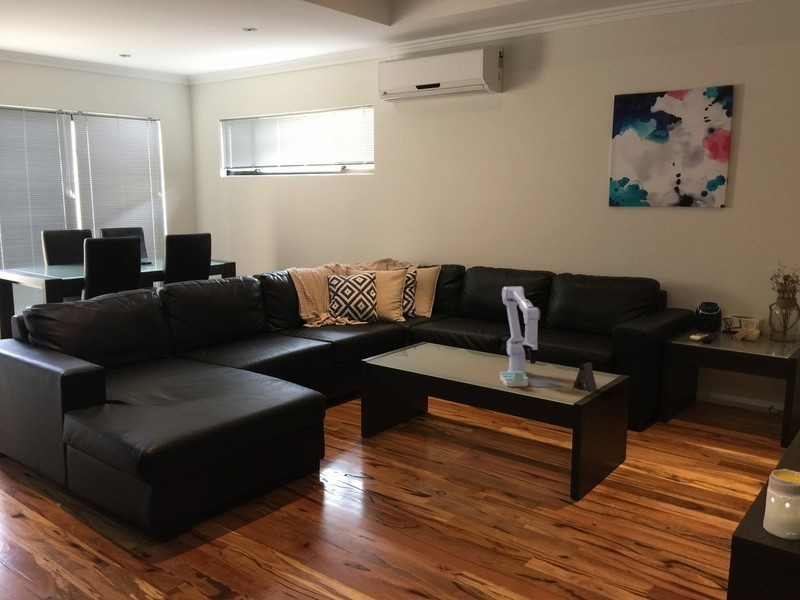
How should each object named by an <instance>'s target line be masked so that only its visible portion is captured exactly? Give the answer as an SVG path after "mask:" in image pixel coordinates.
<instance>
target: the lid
mask: <svg viewBox="0 0 800 600" xmlns="http://www.w3.org/2000/svg"><path fill="white" fill-rule="evenodd" d="M498 373H499V375H500V374H501V375H502V376H503V377H504V378H505V380H513V381H514V382H523V380H528V378H527V377H528V376H527V375H524V373H523V372H522V371H511V372H508V371H499V372H498Z"/></svg>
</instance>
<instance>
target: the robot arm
mask: <svg viewBox="0 0 800 600" xmlns="http://www.w3.org/2000/svg"><path fill="white" fill-rule="evenodd" d="M501 296H502V297H501V298H502V303H503V305H505V306H506V311H507V320H508V324H509V329H510V330H509V332H510V338H509V339H508V340H507V341H506V353H507V355H508V356H509V359H508V369H507V371H506V372H511V371H522V372H523V373H524V375H526V376H528V373H526V372H525V370H526V365H525V364H526V361H529V362H530V364H531V365H533V364H536V362H537V357H538V355H539V353H540V351H541V349H540V348H538V343H539V342H538V328H539V327H538V325H539V324H538V321H539V320H540V318H541V311H540V309H539V307H536V306H535V307H534V305H533V303H532V302H531V301H530V300H529V299H526V297H525V290H524V287H523V286H521V285H520V286H504V287H502V289H501ZM517 306H518V307H519V309H520V310H521V311H522V313H523V315H522V316H523V323H524V324H525V325H524V326H525V327H524V330H525V331H524V337H523V336H522V331H521V326H520V320H519V313H518V307H517Z"/></svg>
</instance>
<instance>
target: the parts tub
mask: <svg viewBox="0 0 800 600" xmlns="http://www.w3.org/2000/svg"><path fill="white" fill-rule="evenodd" d="M499 379H500V381H501V382H502V384H503V385H504V386H505V387H528V382H529V381H528V380H523V382H514V381H513V380H505V378H504V377H503V376H502V375H501V374H500V373H499Z"/></svg>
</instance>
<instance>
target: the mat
mask: <svg viewBox="0 0 800 600" xmlns="http://www.w3.org/2000/svg"><path fill="white" fill-rule="evenodd" d="M526 377H527V378H528V382H529V383H530V384H531V385H533V387H535V388H536V389H538V388H541V389H542V388H563V387H564V385H562V384H561V383H560V382H559V381H557V380H556V379H555V378H554V377H553V376H549V375H548V376H526Z"/></svg>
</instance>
